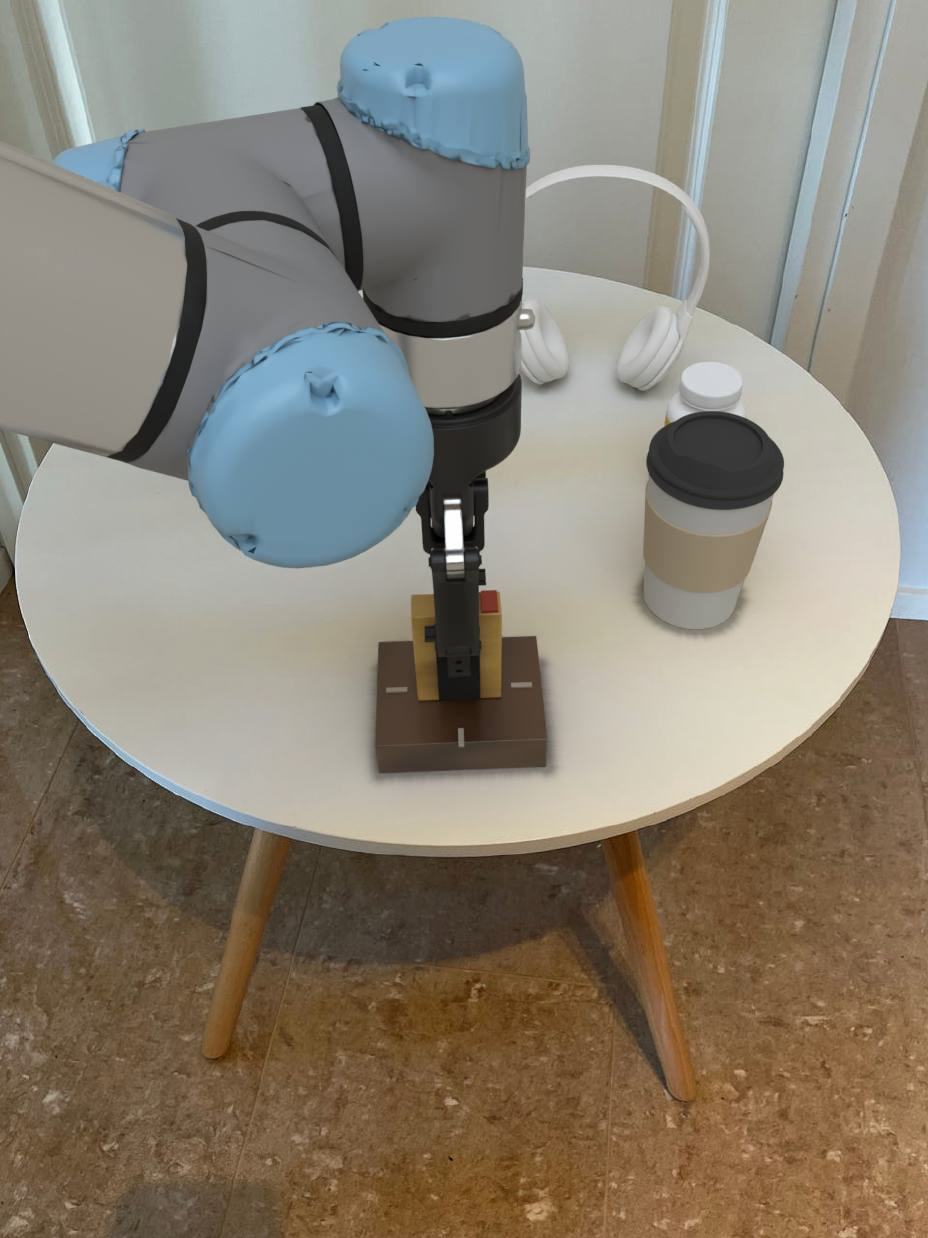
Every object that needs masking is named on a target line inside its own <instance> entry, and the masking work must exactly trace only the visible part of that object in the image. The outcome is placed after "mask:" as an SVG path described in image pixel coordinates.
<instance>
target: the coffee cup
mask: <svg viewBox="0 0 928 1238" xmlns="http://www.w3.org/2000/svg"><path fill="white" fill-rule="evenodd" d="M645 458H646V460H645V463H646V464H645V465H646V470H647V472H648V479H647V482H646V485H645V492H644V493H645V499H644V517H643V518H644V519H643V520H644V523H643V547H642V548H643V549H642V553H643V555H642V556H643V559H644V571H643V572H644V573H643V600H644V602H645V604H646V606H647V607H648V609H649V610H650V612H651V613H652V614H653V615H655V617H657V618H658V619H660V620H661V621H663V622H665V623H667V624H668V625H671V626H674V627H678V628H680V629H687V630H705V629H706V630H707V629H711V628H714V627H717V626H719V625H721V624H723V623H725V622H726V621H727V620H728V619H729V618H730V617H731V616H732V614H733V613H734V611H735V608H736V605H737V603H738V599H739V597H740V594H741V592H742V588H743V585H744V582H745V579H746V578H747V577H748V575H749V573H750V571H751V568H752V566H753V562H754V560H755V558H756V554H757V551H758V548H759V546H760V543H761V539H762V537H763V534H764V531H765V529H766V526H767V522H768V520H769V517H770V514H771V511H772V508H773V499H774V496H775V493H777V491H778V490H779V489H780V487H781V485H782V483H783V480H784V468H785V459H784V455H783V453H782V451H781V449H780V447H779V446H778V445H777V443H776V442H775V441H774V440H773V439H772V438H771V437H770V436H769V435H768V433H767V432H766V431H765V430H764V429H763V428H762V427H761V426H760V425H759V424H757V423H756V422H754V421H753V420H751V419H749V418H747V417H746V418H744V417H742V416H739V415H735V414H731V413H726V412H719V411H703V412H696V413H692V414H688V415H686V416H683V417H681V418H680V419H678V420H677V421H674V422H672V423H670V424H668V425H666V426H665V425H664V426H663V427H661V428H660V429H658V431H657V432H656V433H654V435H653V436H652V438H651V440H650V442H649V446H648V451H647V454H646V457H645Z"/></svg>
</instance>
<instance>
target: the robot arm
mask: <svg viewBox="0 0 928 1238" xmlns="http://www.w3.org/2000/svg"><path fill="white" fill-rule="evenodd" d="M339 60H340V61H339V76H340V77H339V80H338V81H337V85H336V92H337V97H335V98H332V99H327V100H320V101H315V102H314V104H313V105H308V106H307V105H306V106H301V107H297V108H291V109H285V110H278V111H271V112H265V113H259V114H252V115H245V116H239V117H233V118H226V119H219V120H214V121H206V122H200V123H193V124H186V125H181V126H175V127H168V128H161V129H155V130H146V129H144V128H141V129H139V128H138V129H131V130H128V131H127V132H125V133H124V134H123V135H120V136H116V137H112V138H108V139H104V140H100V141H95V142H92V143H88V144H84V145H79V146H75V147H70V148H68V149H65V150H63V151H61V152H60V153H59V154H57V155H56V156H55V158H54V159H53V160H52V162H50V161H48V160H46V159H44V158H42V157H39V156H37V155H34V154H31V153H30V152H27V151H25V150H22V149H20V148H18V147H15V146H14V145H10V144H9V143H6V142H4V141H1V140H0V430H2V431H6V432H10V433H13V434H16V435H20V436H24V437H28V438H32V439H36V440H39V441H43V442H48V443H51V444H55V445H58V446H62V447H66V448H70V449H72V450H76V451H81V452H84V453H89V454H93V455H95V456H100V457H103V458H107V459H111V460H115V461H119V462H121V463H124V464H127V465H130V466H133V467H136V468H137V469H142V470H145V471H149V472H154V473H157V474H161V475H165V476H168V477H172V478H176V479H179V480H183V481H187V482H188V488H189V491H190V493H191V496H193V497H194V498H195V499H196V501H197V504H198V507H199V509H201V510H202V512H203V513H204V514H205V515H206V516H207V519H208V520H209V523H210V524H211V525H212V526H213V528H214V529H215V531H216V532H217V533H218V534H219V535H220V536H221V537H222V539H224V541H226V542H227V543H229V545H231V546H232V547H234V548H235V549H237V550H238V551H240V552H242V553H243V555H244V556H245V557H247V558H250V559H251V560H254V561H256V562H259V563H262V564H265V565H268V566H273V567H276V568H277V567H278V568H283V569H296V570H298V569H307V568H309V569H310V568H318V567H324V566H325V567H326V566H330V565H334V564H338V563H341V562H345V561H347V560H350V559H352V558H355V557H357V556H359V555H361V554H363V553H365V552H367V551H369V550H370V549H372V548H374V547H376V546H377V545H379V544H380V543H381V542H383V541H384V540H386V539H387V538H388V537H390V536H391V535H392V534H393V533H394V532H395V531H396V530H397V529H398V528H400V526H401V525H402V524H403V522H405V520H406V519H407V518H408V516H409V515H410V513H411V511H412V510H413V509H414V508H415V512H416V514H417V515H418V516H419V517H420V525H421V539H422V541H421V542H422V549H423V551H424V552H425V554H427V555H429V556H428V558H427V559H428V561H427V562H428V567H429V568H430V569H431V578H432V590H433V591H432V594H434V607H435V622H436V624H435V625H434V626H424V636H425V643H426V642H435V651H436V661H437V677H438V692H439V701H447V700H470V699H481V692H480V649H482V644H481V641H480V626H479V592H480V587H481V586H484V587H485V586H487V574H486V568H480V567H481V565H482V564H483V562H482V561H483V558H482V557H483V556H482V555H481V553H480V552H481V551H483V550H484V549H485V545H486V543H485V542H486V541H485V514H486V513H487V512H488V510H489V507H490V503H489V502H490V501H489V499H490V498H489V497H490V496H489V495H490V494H489V478H488V477H487V471H488V470H491V469H493V468H495V467H496V466H498V465H500V464H501V463H503V462H504V461H505V460H506V459H508V457H509V456H510V455H511V454H512V452H514V450H515V449H516V447H517V445H518V443H519V441H520V437H521V434H522V433H521V432H522V394H523V390H522V389H523V383H522V377H521V374H520V371H521V369H520V368H521V346H522V340H521V333H520V330H528V329H531V328H533V326H534V325H535V315H534V313H533V311H532V309H522V304H523V294H524V278H523V276H524V275H523V273H524V271H523V270H524V246H525V245H524V242H525V241H524V240H525V218H526V214H525V213H526V206H525V196H526V188H527V169H528V168H527V167H528V165H529V164H530V160H531V151H530V146H529V130H528V127H529V125H528V101H527V100H528V99H527V98H528V96H527V93H526V83H525V82H526V81H525V80H526V79H525V69H524V64H523V59H522V56H521V54H520V53H519V51H518V49H517V48H516V46H515V45H514V44H513V42H512V41H510V39H508V38H506V37H505V36H504V35H503V34H502V33H501V32H499V30H497V29H495V28H494V27H491V26H489V25H486V24H483V23H480V22H476V21H472V20H469V19H465V18H464V19H463V18H456V17H446V16H421V17H409V18H407V17H406V18H401V19H395V20H391V21H386V22H384V23H383V24H382V25H381V26H379V27H378V28H370V29H369V28H368V29H364V30H362V31H360V32H358V33H356V34H355V35H354V36H352V38H350V40H349V41H348V42H347V43H346V45H345V46H344V47H343V49H342V53H341V54H340V59H339ZM360 291H362V295H361V293H360Z"/></svg>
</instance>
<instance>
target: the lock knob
mask: <svg viewBox="0 0 928 1238" xmlns="http://www.w3.org/2000/svg"><path fill="white" fill-rule="evenodd" d="M502 614H503V613H502V601H501V592H500V591H498V589H488V590H486V589H485V590H480V591H479V626H480V641H481V644H482V649H480V692H481V698H495V697H501V655H502V637H503V636H502V632H503V629H502V627H503V625H502V624H503V617H502V616H503V615H502ZM410 622H411V635H412V641H413V647H414V659H415V671H416V682H417V694H418V700H419V701H422V700H439V692H438V677H437V661H436V651H435V642H426V643H425V636H424V626H434V625H435V624H436V622H435V607H434V593H428V594H427V593H426V594H424V593H423V594H412V595H411V596H410Z"/></svg>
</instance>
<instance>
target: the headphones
mask: <svg viewBox="0 0 928 1238" xmlns="http://www.w3.org/2000/svg"><path fill="white" fill-rule="evenodd" d="M586 177H587V178H589V177H590V178H591V177H609V178H611V177H612V178H622V179H627V180H628V179H629V180H634V181H638V182H642V183H645V184H648V185H651V186H653V187H656V188H658V189H660V190H662V191H664V192H666V193H668V194H669V195H671V196H672V197H674V198H675V199H677V200H678V201H679V205H680V208H681V210H682V212H684V214H685V215H686V216H687V218H688V219H689V221H690V222H691V224H692V226H693V228H694V230H695V232H696V235H697V238H698V242H699V249H700V261H699V267H698V272H697V275H696V279H695V282H694V284H693V287H692V290H691V292H690V294H689V296H688V298H685V299H684V300H683V301H682V303H680V305H679V307H678V309H677V310H676V312H674V311H672V310H671V308H670V307H668V306H667V305H658V306H656V307H655V308H653V309H651V310H650V311H649V312H648V313H646V314H645V315H644V316H643V317H642V319H640V321H639V322H638V323H637V325H636V326H635V327H634V329H633V330H632V331H631V333H630V334H629V336H628V338H627V340H626V342H625V344H624V345H623V347H622V350H621V351H620V354H619V357H618V360H617V363H616V368H615V370H616V371H615V373H616V377H617V379H618V380H619V381H620V382H621V383H624V384H628V385H629V386H630V387H633V388H635V389H636V388H637V389H638V390H639V391H641V392H644V391H648V390H650V389H651V388H653V387H654V386H656V385H657V384H658V383H660V382H661V381H662V380H664V378H665V377H666V376H667V375H668V374H669V373H670V372H671V370H672V368H673V367H674V366H675V364H676V362H677V361H678V359H679V358H680V356H681V354H682V352H683V349H684V347H685V342H686V339H687V337H688V335H689V332H690V329H691V326H692V323H693V320H694V313H695V311H696V308H697V306H698V304H699V302H700V300H701V297H702V295H703V292H704V289H705V287H706V283H707V279H708V275H709V272H710V271H709V270H710V262H711V245H710V236H709V231H708V228H707V227H708V226H707V225H706V221H705V219H704V216H703V215H702V213H701V210H700V209H699V207H698V206H697V204H696V203H695V202H694V200H693V199H692V198H691V197H690V196H689V195H688V194H687V193H686V192H685V191H684V190H683V189H681V188H680V187H679V186H678V185H676V184H675V183H674V182H672V181H670V180H669V179H667V178H665V177H664V176H663V177H662V176H661V175H658V174H656V173H654V172H651V171H648V170H645V169H642V168H637V167H633V166H626V165H617V164H616V165H615V164H585V165H579V166H578V165H577V166H571V167H568V168H563V169H560V170H557V171H555V172H552V173H550V174H547V175H544V176H543V177H541V178H539V179H538V180H536V181H534V182H533V183H531V184H529V186H526V196H525V207H526V206H527V205H528V204H529V203H530V201H531V200H532V198H533V195H535V194H536V193H537V192H539V191H541V190H543V189H545V188H547V187H549V186H552V185H555V184H558V183H561V182H564V181H565V182H566V181H568V180H574V179H579V178H586ZM522 309H532V311H533V313H534V315H535V325H534V326H533V328H531V329H528V330H520V333H521V340H522V346H521V368H520V371H522V373H523V374H524V375H525V376H526V377H527V378H528V379H529V380H530V381H532V382H533V383H534V384H536V385H543V384H545V383H550V382H552V381H555V380H559V379H563V378H564V377H565V376H566V375H567V374H568V371H569V367H570V360H569V359H570V358H569V351H568V347H567V344H566V341H565V338H564V335H563V332H562V330H561V328H560V326H559V324H558V322H557V320H556V318H555V317H554V315H553V314H552V312H551V310H549V309H548V307H547V306H546V305H545V304H544V303H542V302H541V301H540V300H538V299H536V298H529V299H527V300H526V301H525V302H523V303H522Z"/></svg>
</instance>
